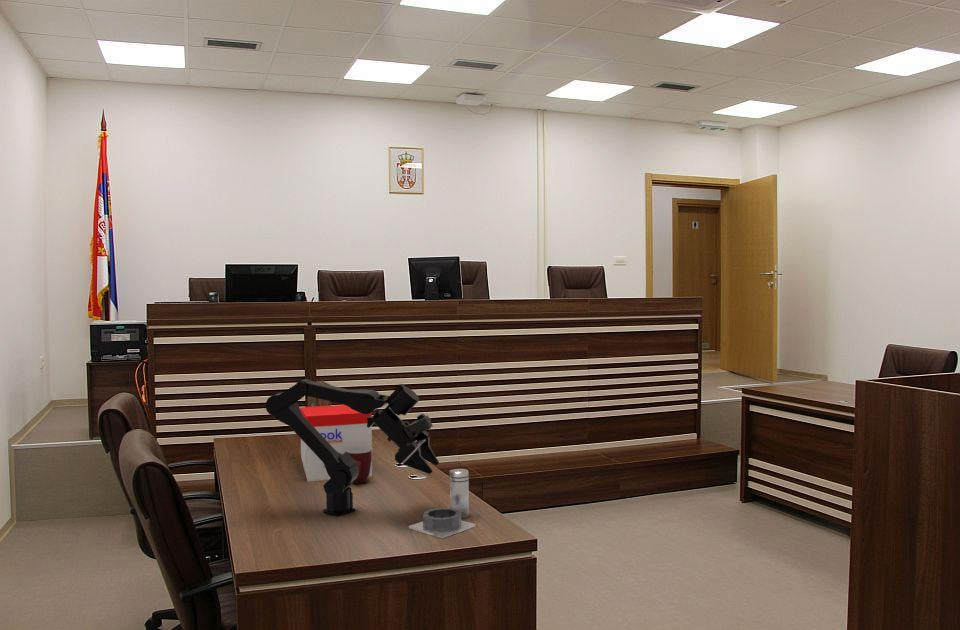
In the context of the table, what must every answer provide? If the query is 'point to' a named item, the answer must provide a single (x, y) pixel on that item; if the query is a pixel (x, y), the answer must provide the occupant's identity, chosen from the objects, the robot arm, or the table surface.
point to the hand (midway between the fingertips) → (434, 468)
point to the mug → (361, 462)
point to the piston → (459, 491)
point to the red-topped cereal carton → (334, 435)
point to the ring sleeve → (442, 523)
